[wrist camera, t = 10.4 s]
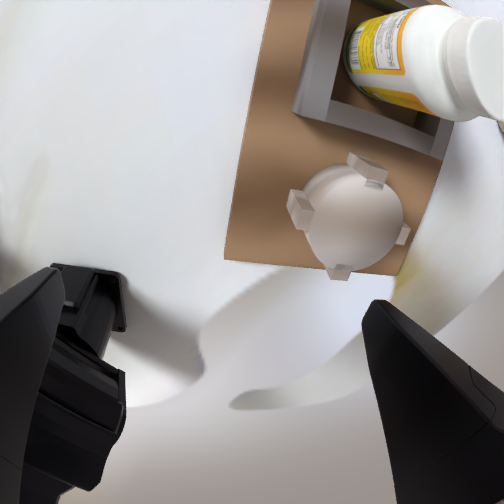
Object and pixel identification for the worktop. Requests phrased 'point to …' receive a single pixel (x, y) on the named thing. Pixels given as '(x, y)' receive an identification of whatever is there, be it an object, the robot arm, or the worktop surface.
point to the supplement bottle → (430, 62)
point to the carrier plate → (329, 151)
